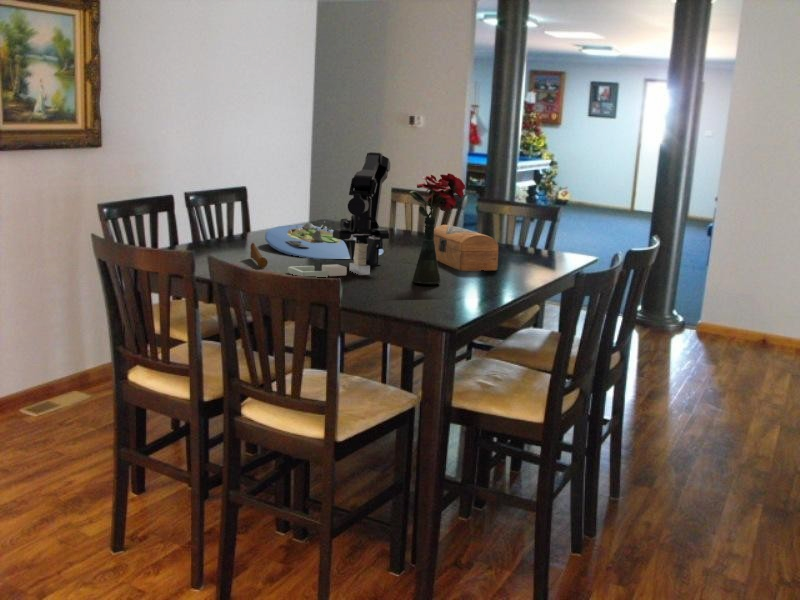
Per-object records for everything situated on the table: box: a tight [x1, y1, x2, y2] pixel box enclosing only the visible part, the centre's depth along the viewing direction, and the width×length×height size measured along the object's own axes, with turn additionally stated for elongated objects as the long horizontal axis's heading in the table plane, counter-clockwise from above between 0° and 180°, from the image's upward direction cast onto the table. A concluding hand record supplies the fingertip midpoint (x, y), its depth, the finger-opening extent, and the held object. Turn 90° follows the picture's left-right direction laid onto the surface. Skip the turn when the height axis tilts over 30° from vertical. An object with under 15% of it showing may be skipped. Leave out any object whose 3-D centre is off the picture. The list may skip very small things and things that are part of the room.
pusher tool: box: [348, 243, 371, 276], centre depth 273 cm, size 4×7×10 cm, turn 31°
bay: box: [287, 265, 329, 278], centre depth 264 cm, size 9×11×2 cm
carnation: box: [408, 173, 466, 286], centre depth 262 cm, size 16×18×35 cm
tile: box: [321, 263, 348, 277], centre depth 268 cm, size 6×6×3 cm
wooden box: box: [434, 224, 499, 272], centre depth 302 cm, size 30×16×14 cm, turn 21°
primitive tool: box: [250, 242, 269, 269], centre depth 279 cm, size 19×6×4 cm
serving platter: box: [264, 220, 385, 260], centre depth 314 cm, size 45×43×12 cm
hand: (360, 259), depth 273 cm, fingers open, 6 cm apart
